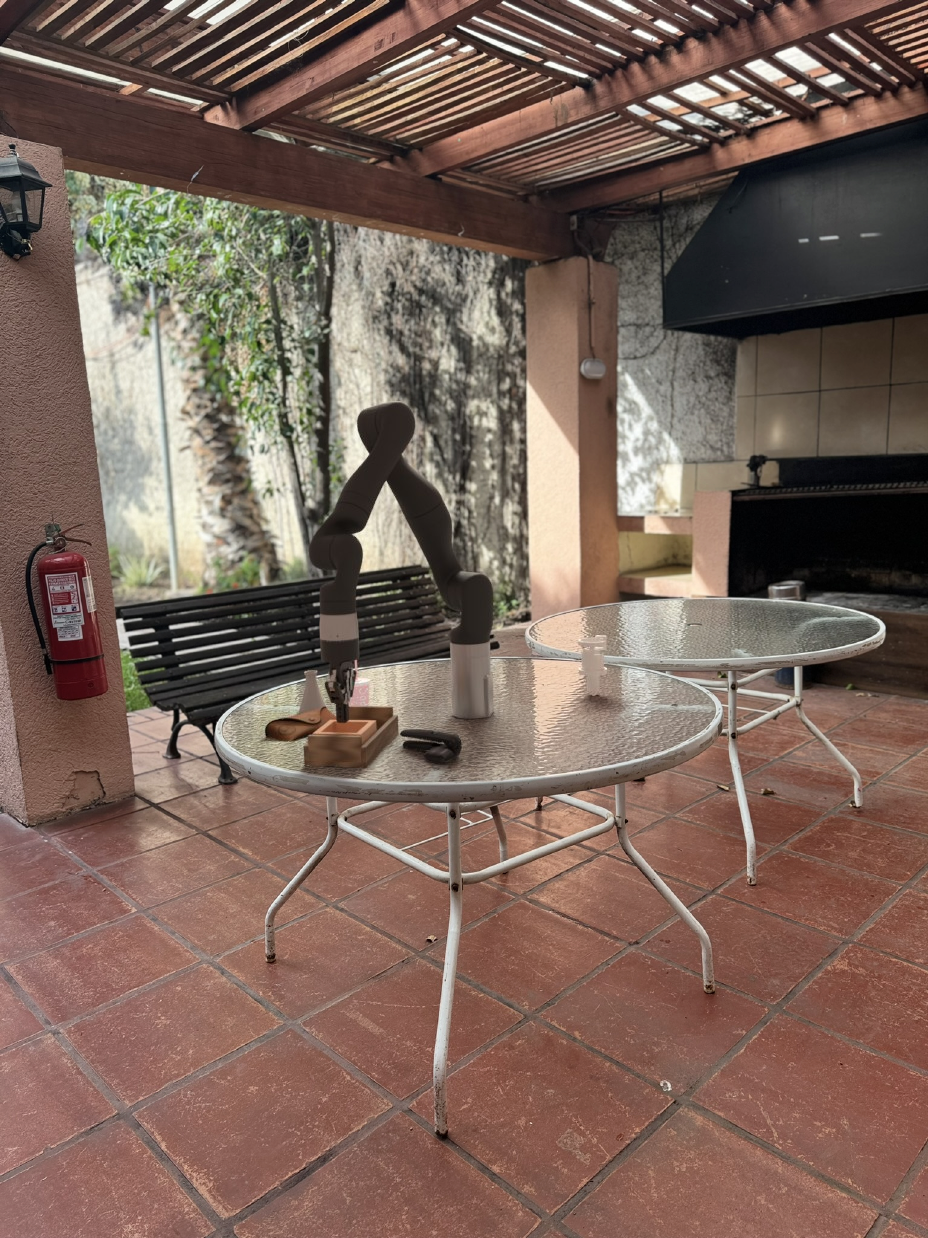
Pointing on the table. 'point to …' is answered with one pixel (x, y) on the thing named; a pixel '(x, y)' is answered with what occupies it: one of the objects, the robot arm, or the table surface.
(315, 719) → the sunglasses case
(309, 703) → the flask
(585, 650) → the white plastic upright piece
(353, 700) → the beverage cup
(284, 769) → the table surface
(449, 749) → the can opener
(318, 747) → the bay
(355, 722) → the box
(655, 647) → the table surface
